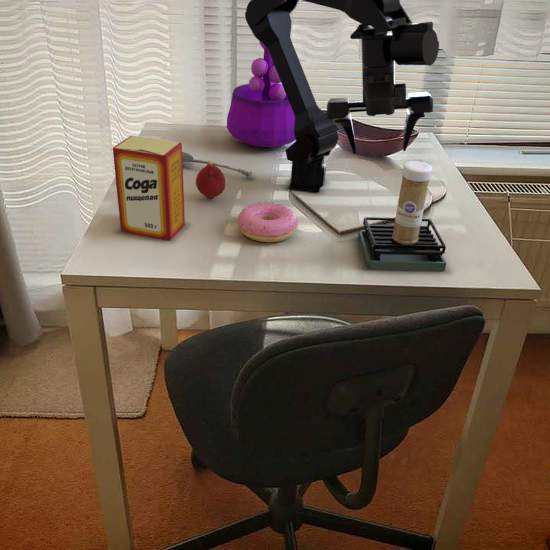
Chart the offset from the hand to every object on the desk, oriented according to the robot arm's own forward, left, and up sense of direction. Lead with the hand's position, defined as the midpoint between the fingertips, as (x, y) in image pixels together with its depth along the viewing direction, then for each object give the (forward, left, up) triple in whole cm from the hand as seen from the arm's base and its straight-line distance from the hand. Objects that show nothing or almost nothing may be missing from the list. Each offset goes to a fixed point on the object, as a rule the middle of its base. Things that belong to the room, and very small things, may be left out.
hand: (379, 152), depth 115 cm
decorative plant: (-29, +30, -12) cm, 44 cm away
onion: (-32, -5, -12) cm, 34 cm away
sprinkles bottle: (+7, -17, -9) cm, 20 cm away
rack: (+6, -16, -12) cm, 21 cm away
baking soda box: (-38, -20, -12) cm, 45 cm away
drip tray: (+6, -16, -12) cm, 21 cm away
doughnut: (-18, -15, -12) cm, 26 cm away
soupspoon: (-38, +9, -12) cm, 40 cm away
